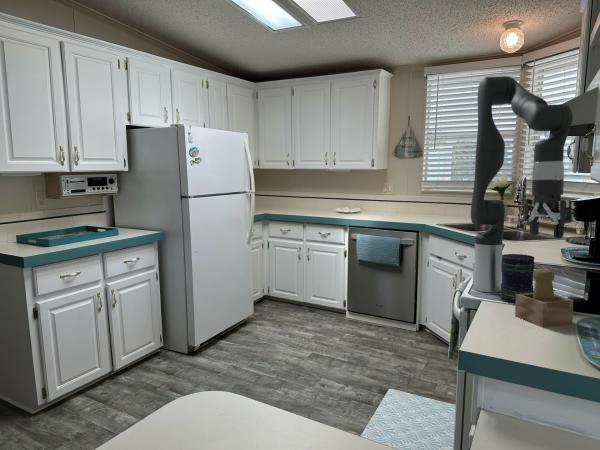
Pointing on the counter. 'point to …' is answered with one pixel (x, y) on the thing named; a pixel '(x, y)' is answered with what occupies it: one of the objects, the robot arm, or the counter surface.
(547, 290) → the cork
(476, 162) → the robot arm
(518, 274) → the storage jar
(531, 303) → the open walnut box
